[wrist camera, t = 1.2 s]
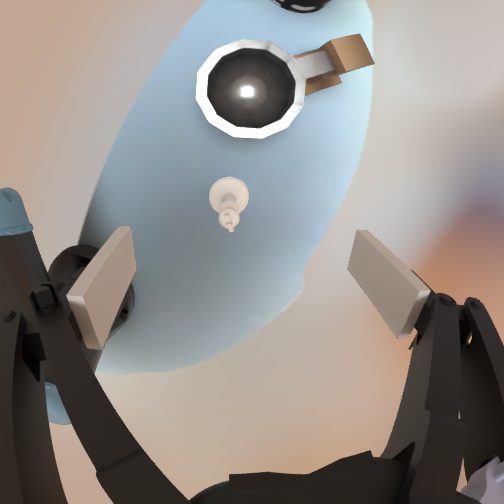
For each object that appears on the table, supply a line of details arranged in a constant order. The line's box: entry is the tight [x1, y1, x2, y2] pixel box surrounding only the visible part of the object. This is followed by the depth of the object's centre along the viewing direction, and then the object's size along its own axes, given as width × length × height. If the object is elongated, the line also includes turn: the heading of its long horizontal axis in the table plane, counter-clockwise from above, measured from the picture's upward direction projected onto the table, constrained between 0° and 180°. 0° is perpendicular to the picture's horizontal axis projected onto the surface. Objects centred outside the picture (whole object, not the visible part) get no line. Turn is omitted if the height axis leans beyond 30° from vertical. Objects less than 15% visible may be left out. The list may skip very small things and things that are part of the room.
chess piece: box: [209, 177, 249, 232], centre depth 29 cm, size 5×5×10 cm
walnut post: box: [293, 34, 375, 95], centre depth 21 cm, size 5×5×12 cm
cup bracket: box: [196, 39, 335, 139], centre depth 20 cm, size 14×9×3 cm, turn 116°
